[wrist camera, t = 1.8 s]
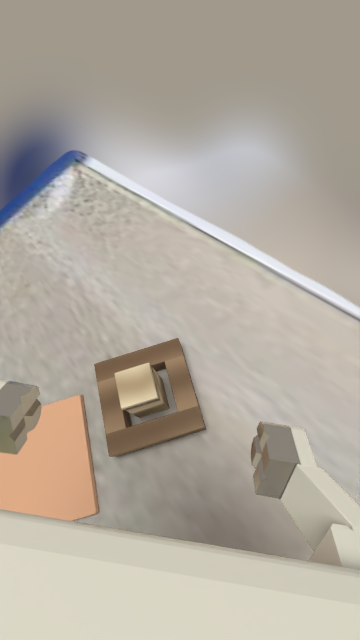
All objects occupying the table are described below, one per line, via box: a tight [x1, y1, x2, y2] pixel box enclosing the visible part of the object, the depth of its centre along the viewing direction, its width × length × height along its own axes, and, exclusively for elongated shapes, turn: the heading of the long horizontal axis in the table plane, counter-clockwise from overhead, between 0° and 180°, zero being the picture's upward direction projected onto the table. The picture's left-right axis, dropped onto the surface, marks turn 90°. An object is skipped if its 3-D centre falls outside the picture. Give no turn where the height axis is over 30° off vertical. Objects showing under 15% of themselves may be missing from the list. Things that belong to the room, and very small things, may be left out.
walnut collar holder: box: [94, 338, 206, 457], centre depth 40 cm, size 12×12×3 cm
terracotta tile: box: [0, 395, 99, 521], centre depth 39 cm, size 14×14×1 cm
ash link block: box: [115, 363, 169, 417], centre depth 37 cm, size 4×4×8 cm
